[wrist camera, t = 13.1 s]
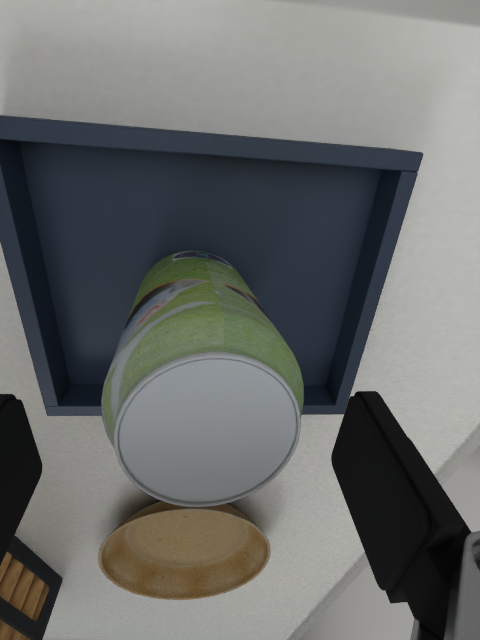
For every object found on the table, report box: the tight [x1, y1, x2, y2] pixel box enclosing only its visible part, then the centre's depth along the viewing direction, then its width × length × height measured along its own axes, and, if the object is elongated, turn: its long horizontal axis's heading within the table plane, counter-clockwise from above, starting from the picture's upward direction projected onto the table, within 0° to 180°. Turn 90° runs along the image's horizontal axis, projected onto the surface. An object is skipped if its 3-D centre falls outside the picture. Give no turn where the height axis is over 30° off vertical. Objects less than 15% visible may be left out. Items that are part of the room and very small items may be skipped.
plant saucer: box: [98, 501, 270, 600], centre depth 31 cm, size 15×15×3 cm
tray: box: [0, 115, 423, 416], centre depth 19 cm, size 16×19×3 cm
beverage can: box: [101, 250, 304, 507], centre depth 14 cm, size 6×7×12 cm
